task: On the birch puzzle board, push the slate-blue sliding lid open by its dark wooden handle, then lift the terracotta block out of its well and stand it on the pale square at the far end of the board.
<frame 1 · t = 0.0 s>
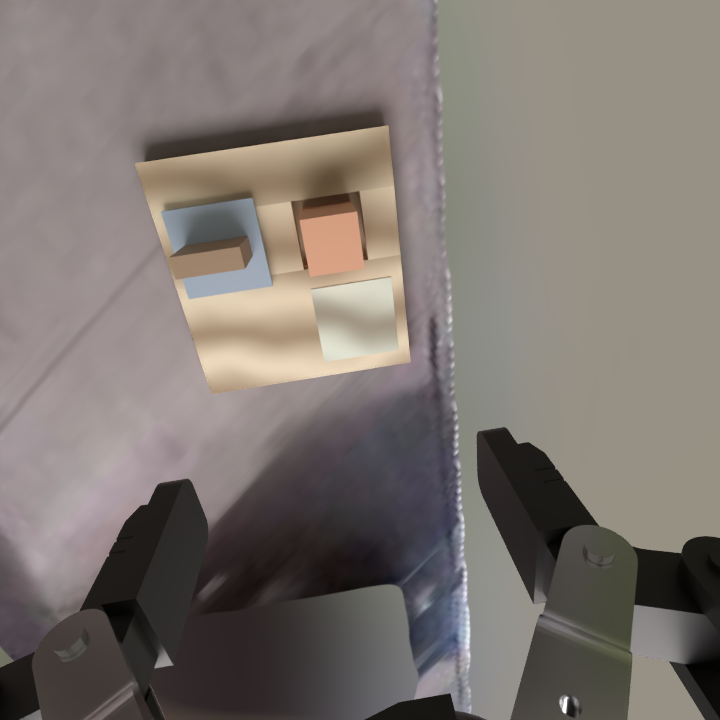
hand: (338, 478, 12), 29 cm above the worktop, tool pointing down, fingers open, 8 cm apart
board: (291, 269, 39), on the worktop
lid: (214, 255, 33), point 5 cm above the worktop, slide at 0.0 cm
block: (330, 228, 37), resting on board
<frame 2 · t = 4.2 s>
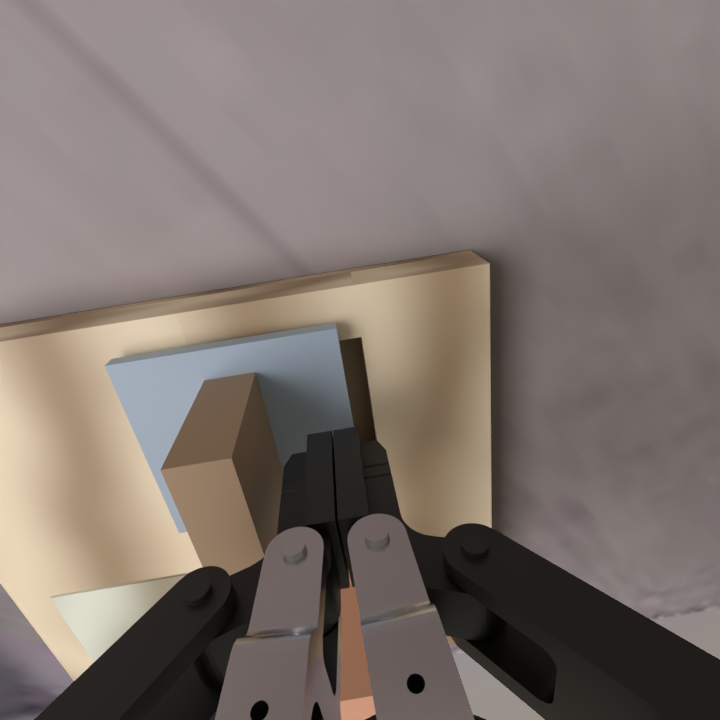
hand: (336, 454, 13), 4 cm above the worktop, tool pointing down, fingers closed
board: (252, 500, 19), on the worktop
lid: (241, 478, 13), point 5 cm above the worktop, slide at 1.5 cm, touching gripper
block: (334, 558, 21), resting on board
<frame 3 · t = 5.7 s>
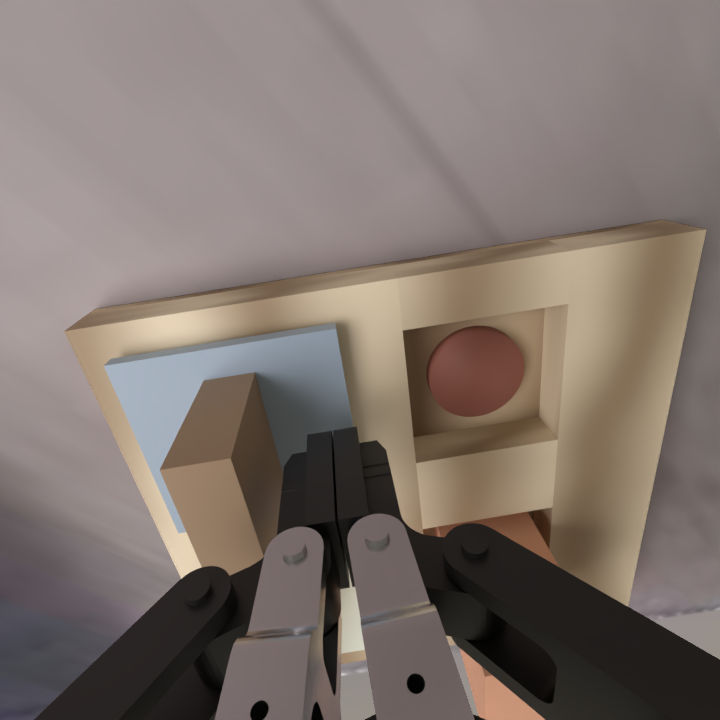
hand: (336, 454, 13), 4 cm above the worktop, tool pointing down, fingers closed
board: (405, 474, 20), on the worktop
lid: (240, 478, 13), point 5 cm above the worktop, slide at 8.3 cm, touching gripper
block: (476, 534, 21), resting on board
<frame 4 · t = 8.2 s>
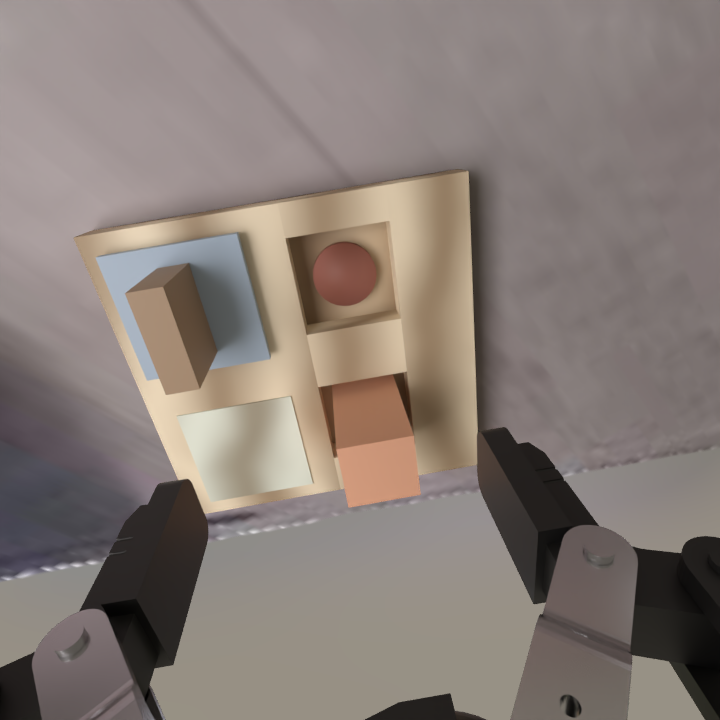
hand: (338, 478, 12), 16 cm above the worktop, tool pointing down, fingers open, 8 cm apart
board: (310, 355, 28), on the worktop
lid: (179, 324, 22), point 5 cm above the worktop, slide at 8.5 cm
block: (366, 403, 29), resting on board
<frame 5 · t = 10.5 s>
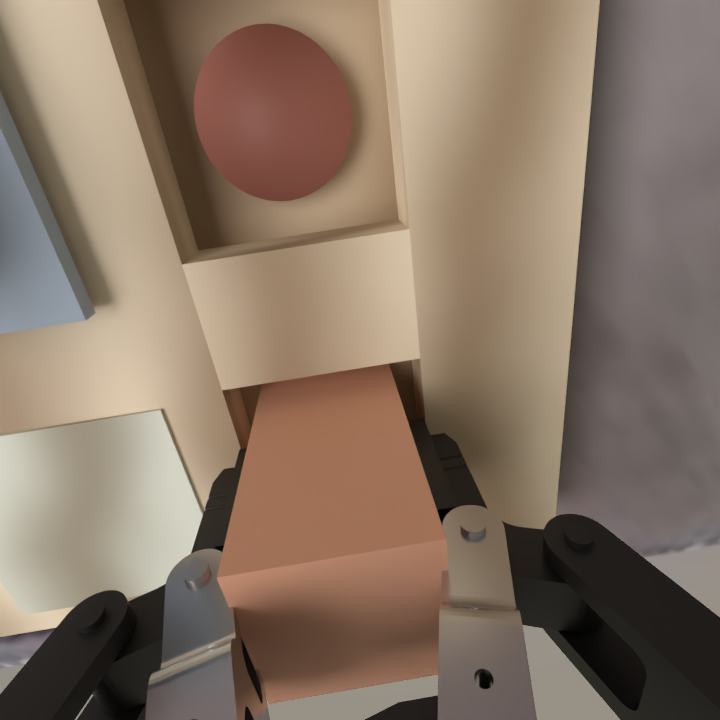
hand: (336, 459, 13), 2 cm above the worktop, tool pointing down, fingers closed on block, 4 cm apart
board: (215, 323, 13), on the worktop
block: (335, 423, 15), resting on board, touching gripper
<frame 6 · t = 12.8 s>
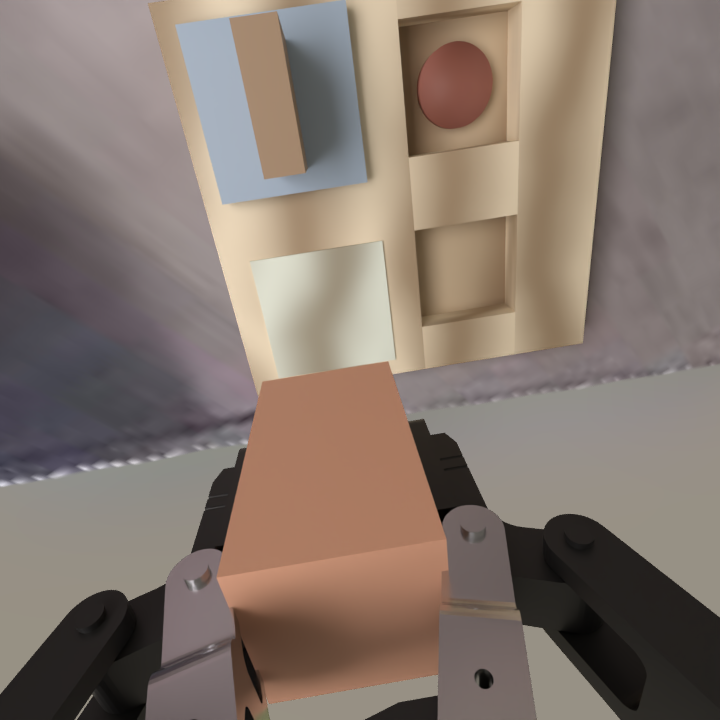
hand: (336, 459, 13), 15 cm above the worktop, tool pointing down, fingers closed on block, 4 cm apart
board: (401, 202, 24), on the worktop
lid: (275, 106, 18), point 5 cm above the worktop, slide at 8.5 cm
block: (335, 423, 15), point 13 cm above the worktop, touching gripper
when the fingers open (5 cm above the worktop, at t = 14.9 s): block stays where it is, resting on board.
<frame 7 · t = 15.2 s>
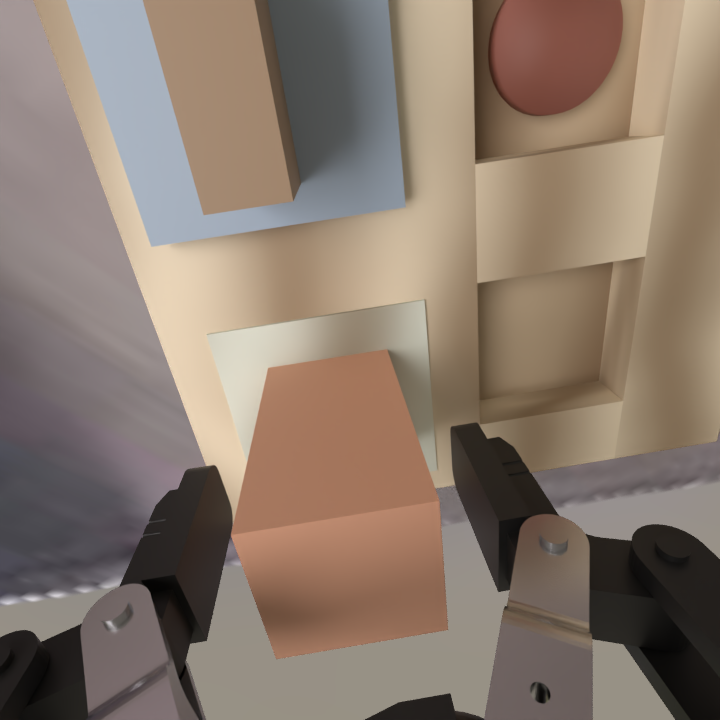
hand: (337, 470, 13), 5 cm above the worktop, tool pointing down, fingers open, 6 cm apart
board: (450, 233, 15), on the worktop
lid: (234, 63, 9), point 5 cm above the worktop, slide at 8.5 cm
block: (337, 408, 16), point 2 cm above the worktop, touching board
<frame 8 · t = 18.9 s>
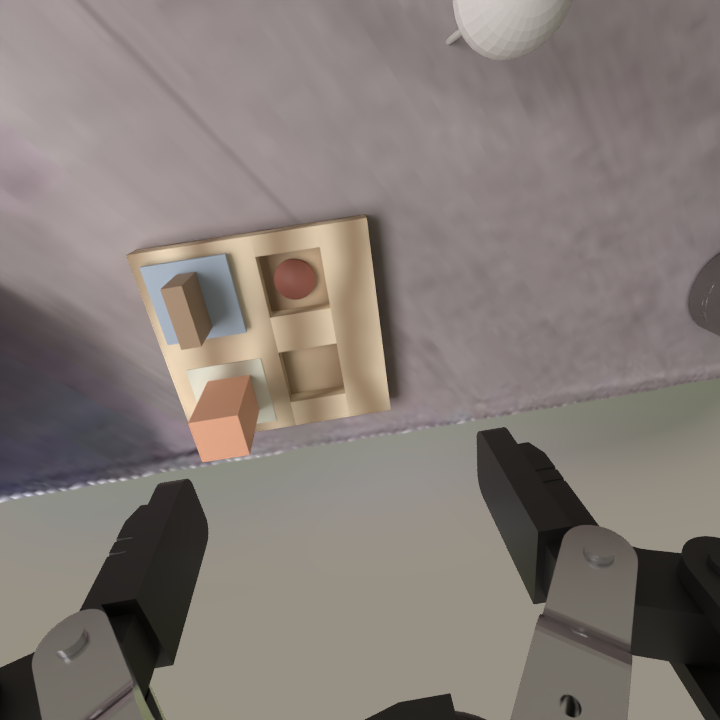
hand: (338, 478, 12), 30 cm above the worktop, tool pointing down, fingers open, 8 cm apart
board: (274, 332, 42), on the worktop
lid: (189, 308, 36), point 5 cm above the worktop, slide at 8.5 cm
lollipop: (448, 41, 33), on the worktop
block: (234, 396, 42), point 2 cm above the worktop, touching board
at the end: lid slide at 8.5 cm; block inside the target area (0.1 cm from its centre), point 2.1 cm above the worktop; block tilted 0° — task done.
